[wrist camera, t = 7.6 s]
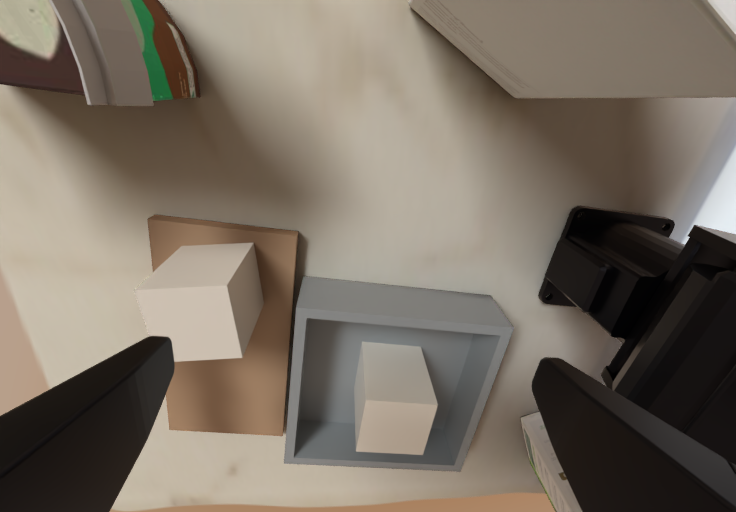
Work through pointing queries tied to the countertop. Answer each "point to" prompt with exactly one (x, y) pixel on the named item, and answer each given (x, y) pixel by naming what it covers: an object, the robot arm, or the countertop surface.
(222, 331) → the cream white block
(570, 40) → the supplement box
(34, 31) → the food container
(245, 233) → the brown rectangular board
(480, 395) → the bin
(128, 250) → the countertop surface
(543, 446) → the syrup box
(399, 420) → the stone
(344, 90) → the countertop surface
